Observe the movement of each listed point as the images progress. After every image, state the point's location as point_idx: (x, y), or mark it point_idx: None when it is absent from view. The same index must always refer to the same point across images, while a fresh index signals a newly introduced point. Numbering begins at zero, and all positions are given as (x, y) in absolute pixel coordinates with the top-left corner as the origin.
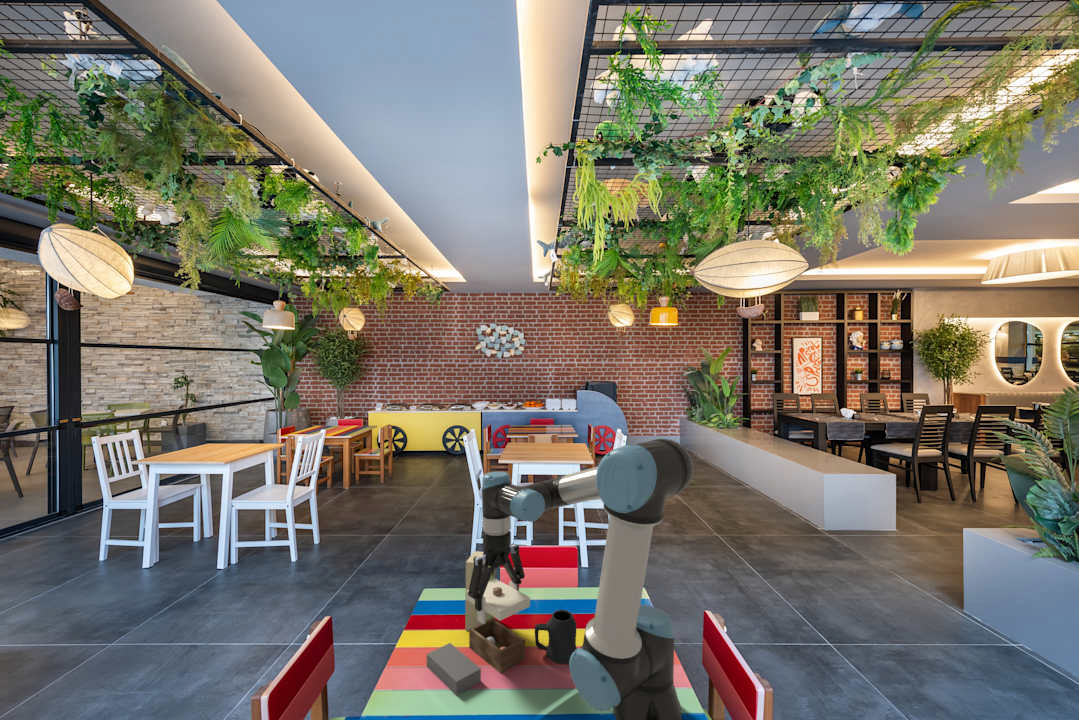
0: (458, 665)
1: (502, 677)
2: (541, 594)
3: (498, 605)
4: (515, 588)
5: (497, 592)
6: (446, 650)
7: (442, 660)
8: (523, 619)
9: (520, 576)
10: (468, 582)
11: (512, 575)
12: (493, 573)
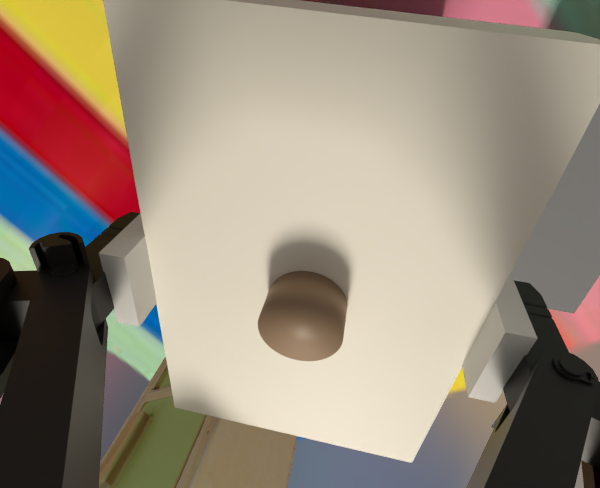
0: (588, 172)
1: (441, 14)
2: (7, 248)
3: (494, 164)
4: (137, 237)
5: (331, 305)
6: (516, 274)
7: (585, 246)
8: (132, 207)
9: (7, 290)
10: (282, 466)
11: (82, 349)
12: (138, 430)
